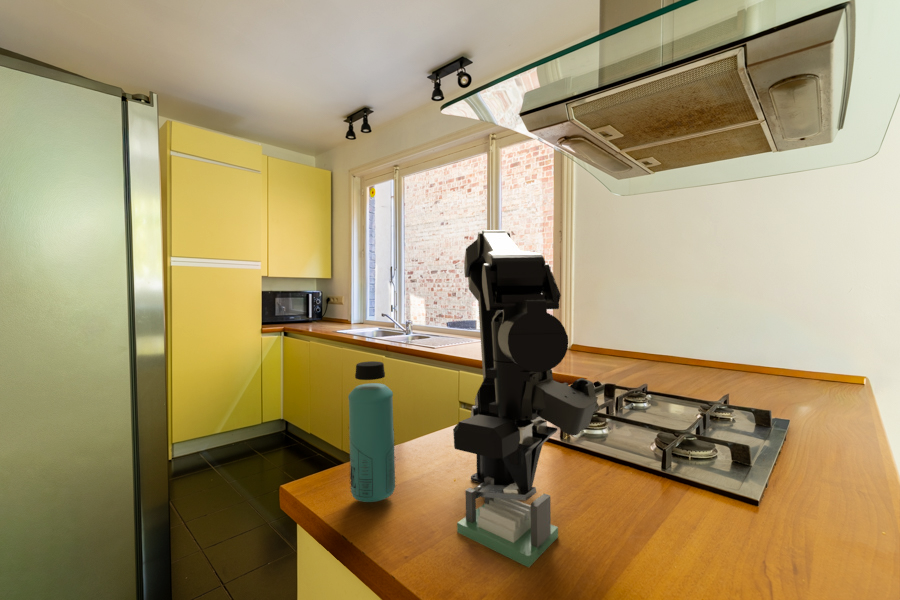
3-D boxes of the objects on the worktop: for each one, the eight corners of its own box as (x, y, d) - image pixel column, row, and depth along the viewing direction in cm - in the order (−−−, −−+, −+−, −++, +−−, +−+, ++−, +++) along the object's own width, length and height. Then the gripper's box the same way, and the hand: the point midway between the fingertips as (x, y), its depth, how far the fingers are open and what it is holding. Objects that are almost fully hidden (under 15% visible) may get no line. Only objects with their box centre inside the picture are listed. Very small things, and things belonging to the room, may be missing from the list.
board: (457, 532, 49) (456, 485, 49) (489, 508, 55) (489, 466, 55) (528, 567, 43) (528, 514, 43) (558, 537, 48) (557, 489, 48)
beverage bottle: (405, 501, 57) (403, 361, 57) (365, 520, 52) (362, 368, 52) (379, 485, 62) (377, 356, 61) (340, 502, 57) (337, 362, 57)
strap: (471, 498, 51) (469, 487, 51) (483, 491, 53) (480, 481, 53) (526, 503, 46) (524, 491, 46) (537, 495, 47) (534, 483, 48)
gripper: (541, 376, 35) (552, 557, 35) (614, 351, 49) (622, 479, 49) (446, 369, 42) (454, 518, 42) (533, 349, 56) (539, 460, 56)
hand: (525, 491), depth 47 cm, fingers closed, pressing on strap
